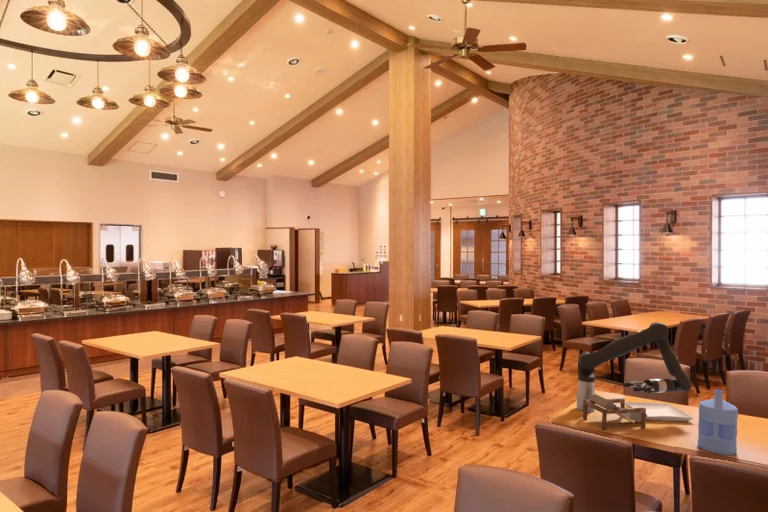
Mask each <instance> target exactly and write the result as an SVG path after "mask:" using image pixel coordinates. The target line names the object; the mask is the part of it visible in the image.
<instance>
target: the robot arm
mask: <svg viewBox="0 0 768 512" xmlns="http://www.w3.org/2000/svg"><path fill="white" fill-rule="evenodd" d="M669 331H670V330H669V326H667V325H666V324H664V323H663V322H658V321H656V322H652V323H650V324H649V326H648V328H646V329H644V330H642V331H639V332H636V333H632V334H626V335H625V336H622V337H619V338H617V339H614V340H613V341H611V342H609V343H608V344H606V346H604V347H603V348H601V349H599V350H597V351H596V350H595V351H594V352H589V351H584V352H581V353H580V354H579V356H578V359H577V379H578V380H577V392H576V408H577V410H578V411H582V412H583V405H584V400H591V398H592V396H593V395H594V394H596V373H595V372H596V371H595V370H596V369H595V368H596V367H599V366H600V365H602V364H604V363H606V362H609V361H611V360H614V359H617V358H619V357H622V356H624V355H625V356H626V355H627V354H629V353H632V352H633V351H636V350H638V349H640V348H642V347H643V346H645V345H648V344H651V343H653V342H654V343H655V344H656V346H657V349H658V351H659V353H660V355H661V357H662V360H663V362H664V365H665V367H666V370H667V371H668V373H669V375H670V376H672V377H674V378H646V379H645V380H644V381H639V380H628V382H623V385H622V386H623V387H624V388H633V392H641V393H642V392H644V393H647V394H660V393H672V392H689V391H690V390H692V381H691V380H690V378H689V376H688V375H687V374H686V373H685V371H684V370H683V368H682V366H681V364H680V361H679V359H678V357H677V355H676V354H675V352H674V350H673V348H672V346H671V344H670V342H669V339H668V335H669V334H670V333H669ZM594 411H595V409H593V408H591V407H589V406H588V407H587V413H588V412H589V413H593V412H594Z"/></svg>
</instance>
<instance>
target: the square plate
mask: <svg viewBox="0 0 768 512" xmlns="http://www.w3.org/2000/svg"><path fill="white" fill-rule="evenodd" d="M625 406H626V407H627V408H646V414H647V418H646V421H647V420H649V421H654V420H660V421H659V422H683V421H684V422H687V421H692V420H693V419H694V418H695V417H694V416H692V415H690V414H688V413H687V412H685V411H683V410H682V409H679V408H677V407H676V406H674V405H672V404H670V403H662V402H660V403H659V402H648V401H647V402H646V401H645V402H644V401H643V402H641V401H637V402H635V401H630V402H629V401H625Z"/></svg>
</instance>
